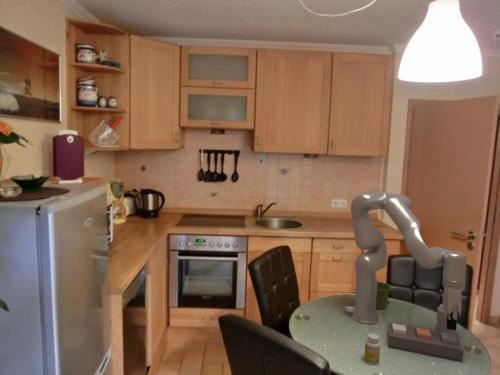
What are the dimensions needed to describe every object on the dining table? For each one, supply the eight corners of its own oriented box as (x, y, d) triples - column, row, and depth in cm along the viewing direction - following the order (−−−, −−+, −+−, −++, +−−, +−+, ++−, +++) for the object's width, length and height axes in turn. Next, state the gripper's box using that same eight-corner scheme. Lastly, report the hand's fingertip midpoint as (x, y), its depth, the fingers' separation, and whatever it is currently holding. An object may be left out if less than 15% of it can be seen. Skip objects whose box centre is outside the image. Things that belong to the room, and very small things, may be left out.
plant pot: (388, 314, 169) (389, 291, 168) (363, 308, 176) (364, 286, 175) (392, 305, 179) (393, 284, 178) (369, 299, 186) (370, 279, 185)
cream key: (392, 338, 142) (392, 328, 142) (391, 332, 147) (392, 323, 147) (405, 340, 141) (406, 331, 140) (404, 334, 145) (405, 325, 145)
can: (458, 337, 149) (460, 311, 147) (439, 335, 150) (441, 309, 149) (451, 329, 156) (453, 303, 155) (433, 327, 157) (435, 301, 156)
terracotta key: (416, 342, 139) (417, 333, 139) (415, 336, 144) (416, 327, 143) (430, 345, 137) (431, 335, 137) (428, 339, 142) (429, 329, 142)
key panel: (388, 347, 140) (389, 335, 139) (387, 333, 151) (388, 322, 151) (462, 362, 131) (463, 349, 130) (455, 346, 142) (456, 334, 142)
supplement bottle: (376, 366, 127) (377, 341, 126) (362, 360, 130) (363, 336, 129) (381, 360, 131) (383, 336, 130) (367, 354, 134) (369, 331, 134)
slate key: (441, 347, 136) (442, 337, 136) (439, 341, 141) (440, 331, 140) (456, 350, 134) (457, 340, 134) (453, 343, 139) (454, 334, 139)
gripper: (439, 276, 143) (437, 319, 145) (446, 288, 129) (443, 336, 131) (460, 278, 141) (458, 322, 142) (469, 291, 127) (466, 339, 128)
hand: (451, 328), depth 136 cm, fingers closed
